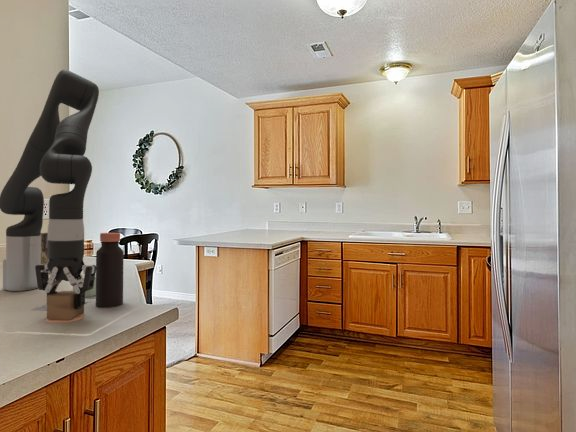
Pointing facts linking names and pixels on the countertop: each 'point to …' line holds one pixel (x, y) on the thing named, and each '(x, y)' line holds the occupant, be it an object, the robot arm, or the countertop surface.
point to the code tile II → (91, 297)
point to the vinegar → (109, 271)
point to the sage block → (90, 292)
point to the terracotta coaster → (65, 320)
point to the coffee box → (44, 249)
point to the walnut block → (62, 306)
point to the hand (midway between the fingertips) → (65, 307)
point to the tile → (44, 307)
